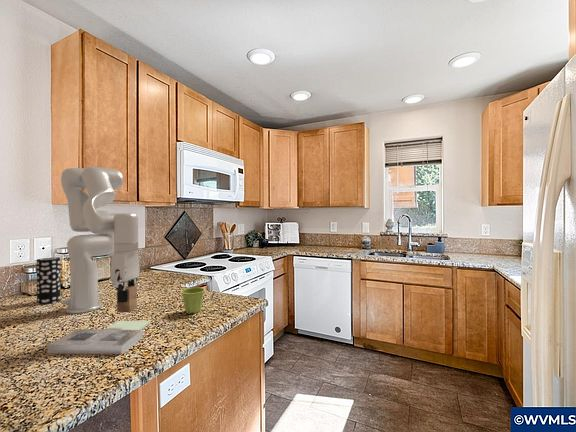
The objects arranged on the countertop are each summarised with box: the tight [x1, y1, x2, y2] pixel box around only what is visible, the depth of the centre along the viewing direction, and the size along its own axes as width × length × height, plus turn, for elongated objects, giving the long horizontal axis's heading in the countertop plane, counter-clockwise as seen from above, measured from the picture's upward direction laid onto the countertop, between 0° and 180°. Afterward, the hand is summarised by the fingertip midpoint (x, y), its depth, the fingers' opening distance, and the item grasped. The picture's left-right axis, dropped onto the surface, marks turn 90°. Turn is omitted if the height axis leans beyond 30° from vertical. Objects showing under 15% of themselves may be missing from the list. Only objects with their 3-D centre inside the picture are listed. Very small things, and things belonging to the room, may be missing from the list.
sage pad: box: [103, 320, 151, 330], centre depth 100 cm, size 12×9×1 cm
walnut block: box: [116, 285, 138, 313], centre depth 100 cm, size 4×4×8 cm
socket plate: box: [47, 328, 144, 355], centre depth 87 cm, size 22×11×2 cm, turn 88°
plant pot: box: [180, 287, 206, 314], centre depth 117 cm, size 9×9×9 cm
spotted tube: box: [36, 257, 61, 306], centre depth 131 cm, size 8×8×20 cm
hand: (126, 299), depth 100 cm, fingers closed on walnut block, 4 cm apart
